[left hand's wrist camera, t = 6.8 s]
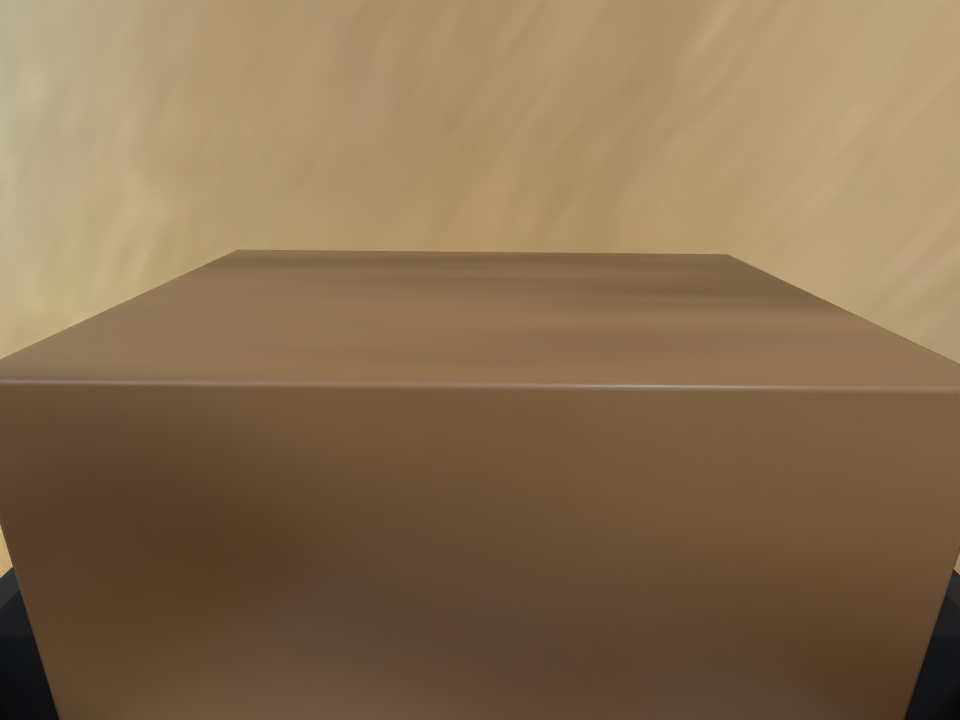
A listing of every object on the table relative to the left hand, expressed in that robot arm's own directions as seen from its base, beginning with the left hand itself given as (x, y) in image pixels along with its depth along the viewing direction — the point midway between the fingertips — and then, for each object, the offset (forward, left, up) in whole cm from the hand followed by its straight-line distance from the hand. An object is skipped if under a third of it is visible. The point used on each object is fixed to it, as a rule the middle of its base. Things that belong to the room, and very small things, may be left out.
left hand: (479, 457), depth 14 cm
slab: (+19, +9, -1) cm, 21 cm away
